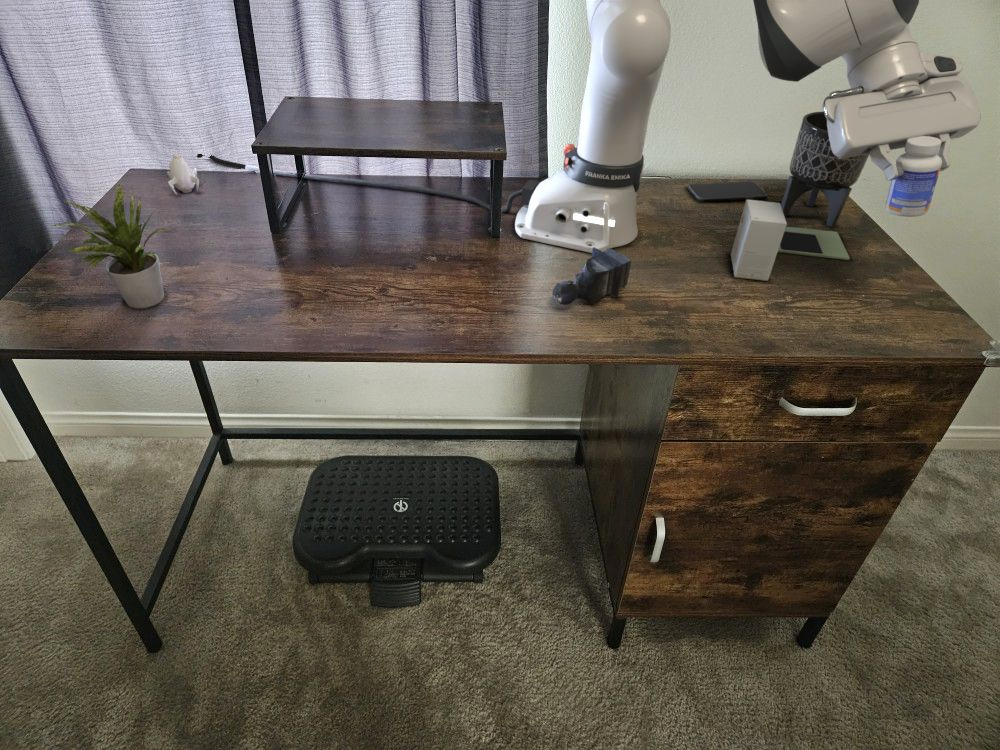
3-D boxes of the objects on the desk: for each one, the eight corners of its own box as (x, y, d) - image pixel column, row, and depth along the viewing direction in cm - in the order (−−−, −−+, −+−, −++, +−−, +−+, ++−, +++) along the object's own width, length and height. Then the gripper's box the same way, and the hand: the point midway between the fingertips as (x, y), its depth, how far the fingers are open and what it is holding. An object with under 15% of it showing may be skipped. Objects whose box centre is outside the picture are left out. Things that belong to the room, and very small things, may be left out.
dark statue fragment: (541, 302, 100) (545, 266, 96) (600, 276, 107) (606, 240, 103) (571, 322, 96) (575, 285, 92) (630, 293, 103) (637, 257, 99)
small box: (767, 282, 107) (788, 224, 100) (733, 278, 108) (750, 219, 101) (762, 258, 113) (781, 202, 106) (729, 254, 114) (746, 198, 107)
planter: (856, 220, 126) (895, 128, 114) (816, 236, 120) (853, 141, 109) (799, 195, 134) (830, 107, 122) (759, 209, 128) (788, 118, 116)
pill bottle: (935, 216, 89) (957, 145, 83) (893, 219, 90) (912, 148, 84) (916, 201, 93) (936, 132, 88) (877, 204, 94) (894, 136, 88)
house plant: (93, 279, 101) (50, 179, 91) (188, 264, 105) (157, 167, 95) (86, 330, 91) (37, 224, 81) (192, 311, 95) (157, 208, 85)
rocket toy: (171, 187, 127) (159, 147, 122) (201, 183, 129) (189, 144, 124) (172, 198, 123) (159, 157, 118) (203, 194, 125) (191, 154, 120)
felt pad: (766, 251, 115) (767, 248, 115) (759, 225, 123) (760, 222, 122) (849, 260, 113) (850, 257, 113) (836, 233, 121) (837, 231, 121)
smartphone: (686, 183, 134) (754, 180, 136) (685, 188, 135) (753, 184, 137) (699, 199, 129) (770, 195, 130) (698, 203, 129) (769, 199, 131)
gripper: (832, 80, 86) (863, 176, 84) (971, 56, 88) (1004, 150, 86) (807, 107, 92) (835, 197, 90) (937, 84, 94) (967, 172, 92)
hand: (919, 174), depth 88 cm, fingers closed on pill bottle, 5 cm apart
